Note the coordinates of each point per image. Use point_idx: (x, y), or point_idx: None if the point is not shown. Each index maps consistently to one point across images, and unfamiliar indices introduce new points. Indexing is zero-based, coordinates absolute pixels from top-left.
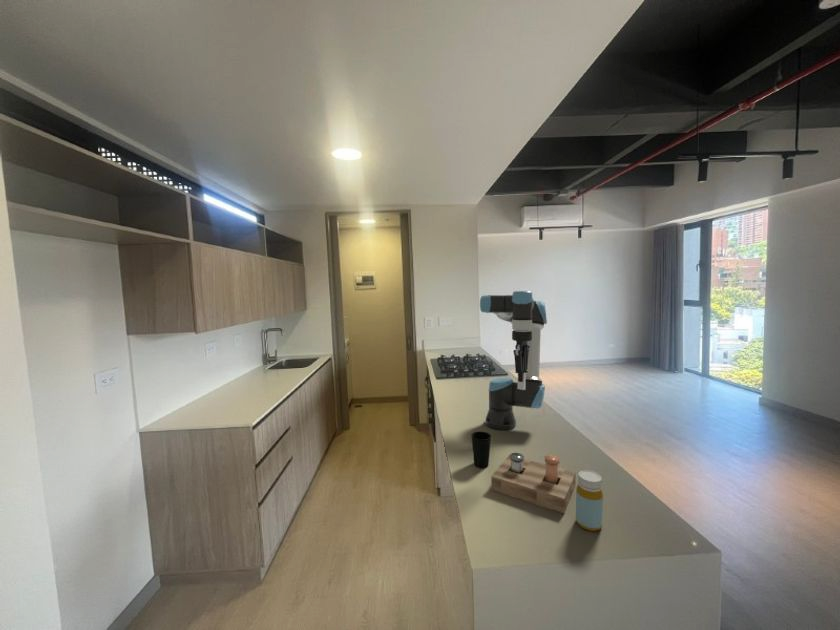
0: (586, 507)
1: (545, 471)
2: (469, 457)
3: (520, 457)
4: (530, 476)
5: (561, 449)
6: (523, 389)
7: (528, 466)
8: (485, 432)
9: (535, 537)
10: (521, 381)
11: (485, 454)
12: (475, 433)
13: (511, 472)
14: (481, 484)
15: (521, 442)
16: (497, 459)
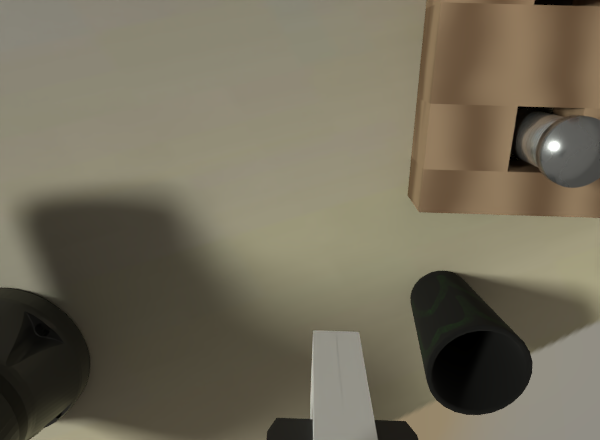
0: None
1: (512, 12)
2: (404, 354)
3: (588, 132)
4: (587, 66)
5: (105, 20)
6: (360, 342)
7: (495, 100)
8: (432, 367)
9: None
10: (411, 432)
11: (483, 301)
12: (454, 403)
13: None
14: (585, 245)
15: (148, 215)
16: (366, 256)
